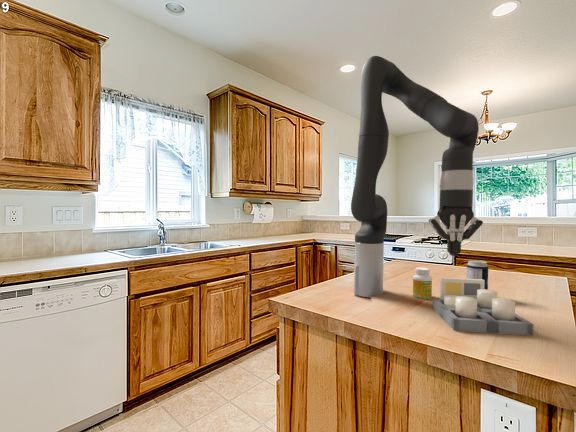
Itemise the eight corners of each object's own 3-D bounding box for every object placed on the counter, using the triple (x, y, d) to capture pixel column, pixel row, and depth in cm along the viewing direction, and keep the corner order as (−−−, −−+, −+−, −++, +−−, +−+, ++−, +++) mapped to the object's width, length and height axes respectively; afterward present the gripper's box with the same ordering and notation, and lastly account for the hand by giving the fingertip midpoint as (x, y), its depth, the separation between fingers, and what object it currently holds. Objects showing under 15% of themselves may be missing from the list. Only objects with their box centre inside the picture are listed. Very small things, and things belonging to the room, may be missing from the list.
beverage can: (490, 303, 92) (491, 263, 92) (470, 301, 94) (471, 262, 93) (482, 297, 98) (483, 260, 98) (463, 296, 99) (464, 259, 99)
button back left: (447, 314, 78) (447, 299, 78) (441, 309, 83) (441, 294, 83) (465, 315, 78) (466, 300, 78) (459, 310, 82) (459, 295, 82)
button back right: (481, 309, 77) (481, 293, 77) (473, 303, 81) (474, 288, 81) (500, 310, 76) (500, 294, 76) (491, 304, 81) (492, 289, 81)
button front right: (497, 320, 69) (497, 303, 69) (488, 313, 74) (488, 297, 73) (519, 321, 68) (519, 304, 68) (508, 315, 73) (508, 298, 73)
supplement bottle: (423, 303, 92) (423, 271, 92) (408, 298, 97) (409, 267, 97) (435, 300, 95) (435, 269, 94) (420, 296, 99) (421, 266, 99)
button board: (453, 334, 69) (454, 295, 69) (430, 309, 87) (431, 277, 86) (532, 340, 66) (533, 299, 66) (492, 312, 84) (493, 279, 84)
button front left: (459, 318, 70) (459, 301, 70) (452, 311, 75) (452, 295, 75) (480, 319, 70) (480, 302, 70) (471, 313, 74) (472, 296, 74)
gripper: (433, 187, 77) (431, 256, 77) (491, 188, 74) (488, 258, 75) (425, 189, 84) (423, 252, 85) (477, 189, 82) (475, 254, 82)
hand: (453, 255), depth 80 cm, fingers closed
